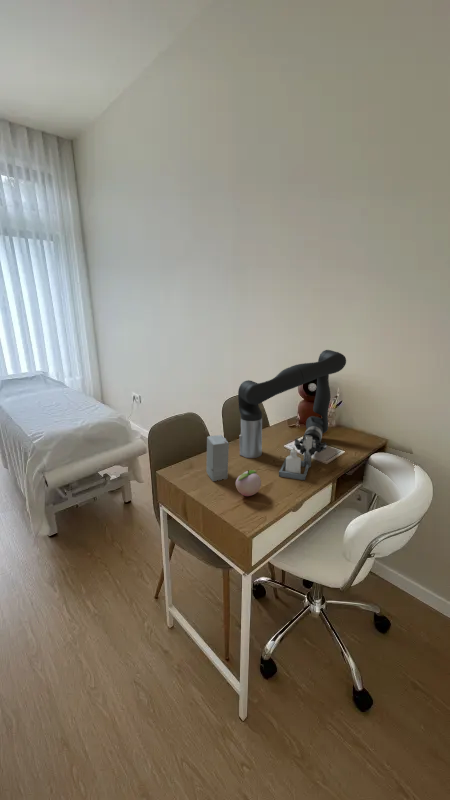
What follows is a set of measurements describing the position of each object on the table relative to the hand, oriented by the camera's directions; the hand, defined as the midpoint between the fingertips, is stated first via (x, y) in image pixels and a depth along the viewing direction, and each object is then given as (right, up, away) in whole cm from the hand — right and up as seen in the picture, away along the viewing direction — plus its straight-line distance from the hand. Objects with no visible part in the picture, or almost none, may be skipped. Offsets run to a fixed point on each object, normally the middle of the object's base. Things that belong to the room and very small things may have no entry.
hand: (306, 452), depth 137 cm
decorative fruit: (-24, -13, -15) cm, 31 cm away
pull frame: (-5, -7, +1) cm, 9 cm away
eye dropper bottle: (-6, -9, -2) cm, 11 cm away
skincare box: (-35, -9, -1) cm, 37 cm away
